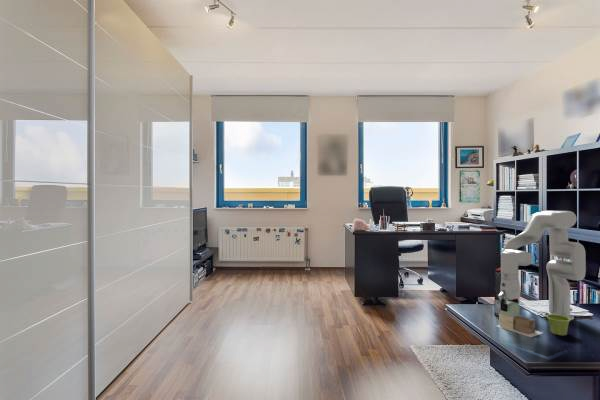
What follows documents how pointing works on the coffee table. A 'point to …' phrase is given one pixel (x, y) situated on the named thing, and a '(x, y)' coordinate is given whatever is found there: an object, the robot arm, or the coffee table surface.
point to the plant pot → (558, 324)
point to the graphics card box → (497, 292)
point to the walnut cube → (525, 325)
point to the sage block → (511, 309)
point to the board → (523, 333)
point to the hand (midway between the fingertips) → (509, 309)
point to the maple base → (507, 321)
